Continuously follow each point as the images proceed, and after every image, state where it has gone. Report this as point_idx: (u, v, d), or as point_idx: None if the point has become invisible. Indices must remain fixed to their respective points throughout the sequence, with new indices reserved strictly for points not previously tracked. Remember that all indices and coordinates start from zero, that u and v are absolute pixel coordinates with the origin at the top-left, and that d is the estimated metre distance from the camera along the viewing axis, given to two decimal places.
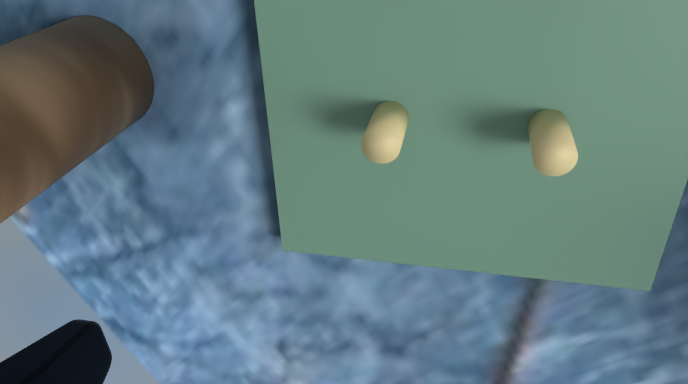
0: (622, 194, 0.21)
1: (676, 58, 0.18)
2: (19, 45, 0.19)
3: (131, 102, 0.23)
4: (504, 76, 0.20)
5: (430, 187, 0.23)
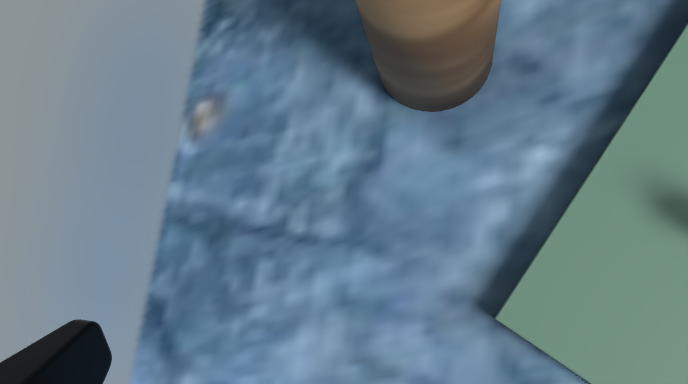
0: None
1: None
2: None
3: (477, 76, 0.22)
4: None
5: None
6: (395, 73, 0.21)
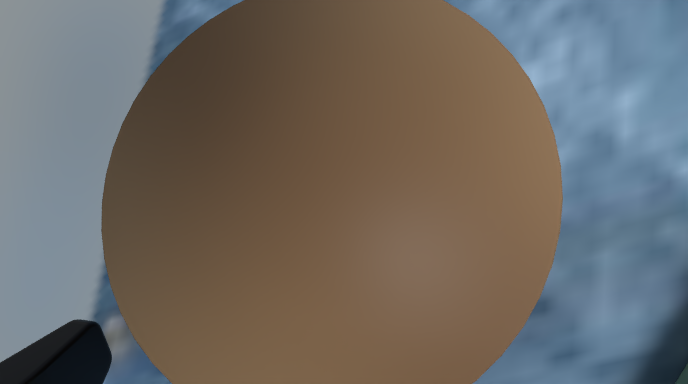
0: None
1: None
2: None
3: None
4: None
5: None
6: None
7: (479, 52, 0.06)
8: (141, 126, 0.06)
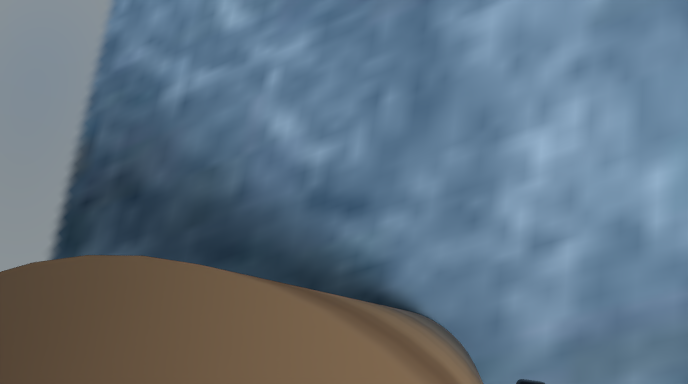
0: None
1: None
2: (449, 337, 0.11)
3: None
4: None
5: None
6: None
7: None
8: None
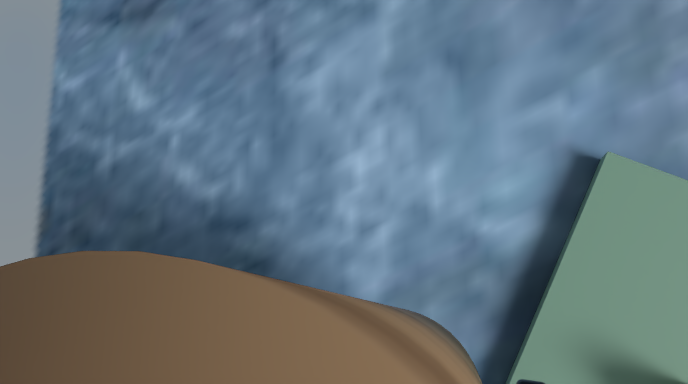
0: None
1: None
2: (447, 336, 0.11)
3: None
4: None
5: None
6: None
7: None
8: None
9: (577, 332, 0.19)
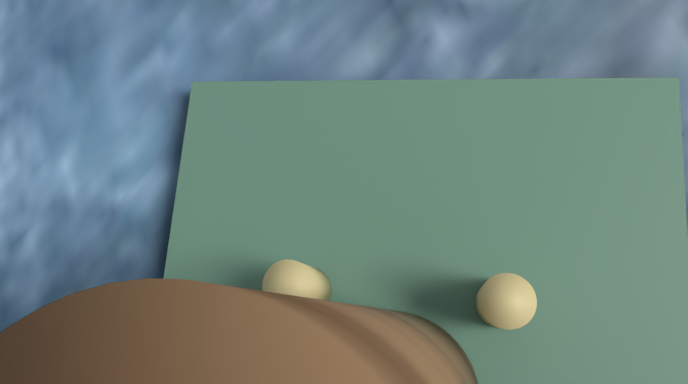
0: None
1: None
2: (440, 337, 0.12)
3: None
4: None
5: None
6: None
7: None
8: None
9: (203, 259, 0.18)
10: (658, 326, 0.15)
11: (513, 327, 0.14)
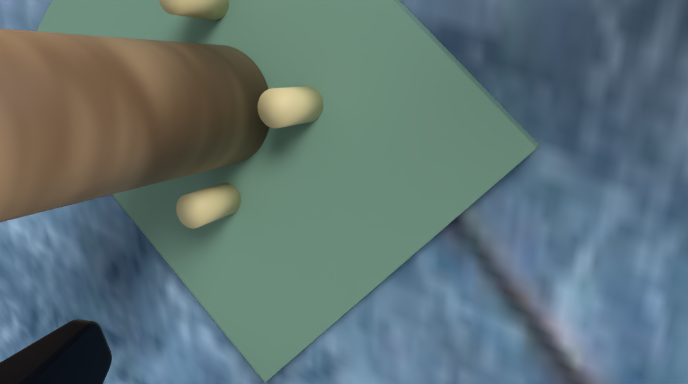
0: (405, 95, 0.20)
1: None
2: None
3: (245, 106, 0.21)
4: None
5: (294, 226, 0.23)
6: (186, 175, 0.21)
7: None
8: None
9: None
10: None
11: (185, 3, 0.20)
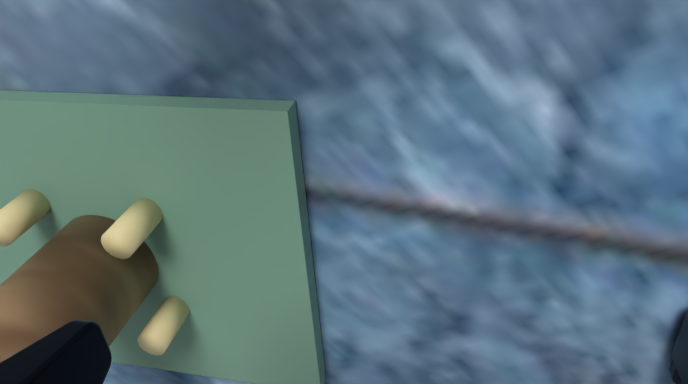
0: (187, 152, 0.22)
1: (69, 135, 0.23)
2: None
3: None
4: None
5: (226, 288, 0.26)
6: (120, 329, 0.24)
7: None
8: None
9: None
10: (7, 118, 0.23)
11: (8, 231, 0.23)
